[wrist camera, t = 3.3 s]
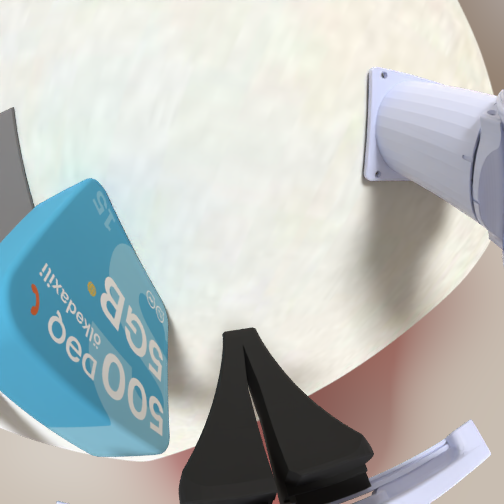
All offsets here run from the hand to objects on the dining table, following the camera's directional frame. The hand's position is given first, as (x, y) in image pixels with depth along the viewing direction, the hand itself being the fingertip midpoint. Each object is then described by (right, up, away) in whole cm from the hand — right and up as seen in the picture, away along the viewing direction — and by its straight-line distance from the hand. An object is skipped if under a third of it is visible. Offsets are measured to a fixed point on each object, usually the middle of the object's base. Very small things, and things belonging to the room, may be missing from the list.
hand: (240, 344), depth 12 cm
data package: (-9, +4, +6) cm, 12 cm away
